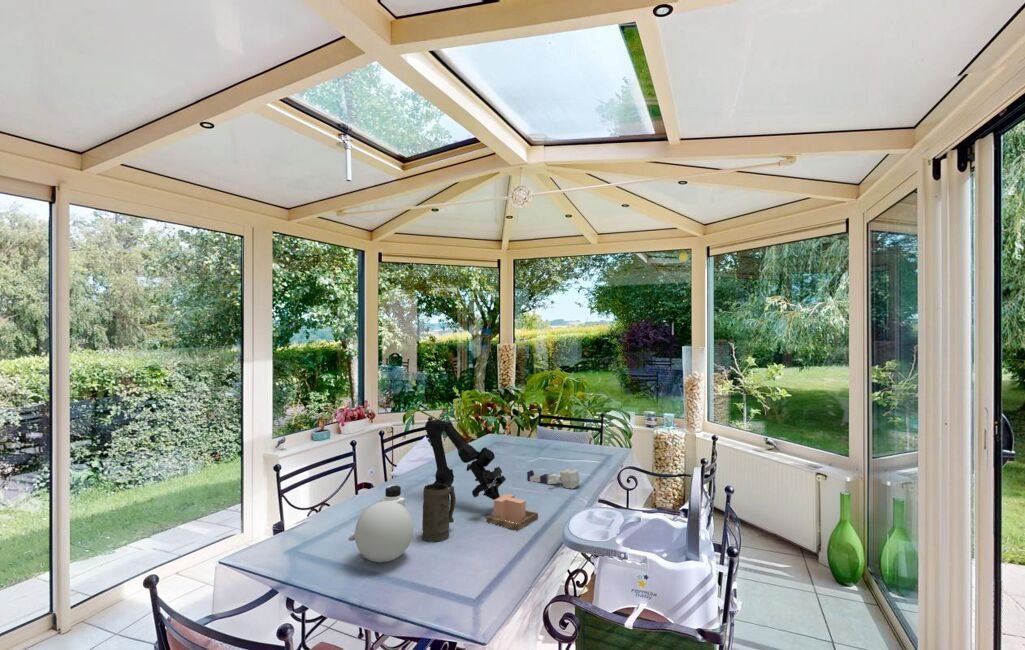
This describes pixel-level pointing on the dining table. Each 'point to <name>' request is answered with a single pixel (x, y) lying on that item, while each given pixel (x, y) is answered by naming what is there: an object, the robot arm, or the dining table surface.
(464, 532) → the dining table surface
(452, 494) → the beer stein
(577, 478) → the toy
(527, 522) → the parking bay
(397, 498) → the container
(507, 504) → the t block
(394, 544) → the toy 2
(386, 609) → the dining table surface
